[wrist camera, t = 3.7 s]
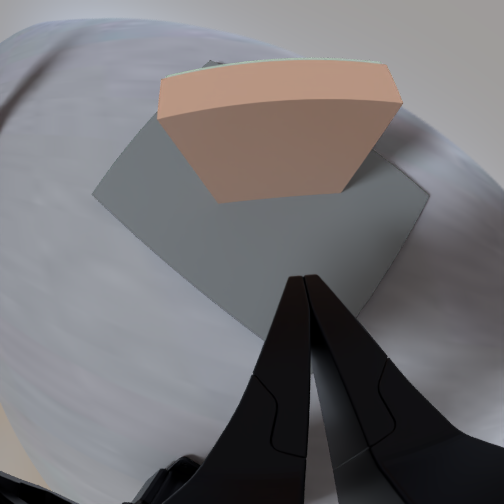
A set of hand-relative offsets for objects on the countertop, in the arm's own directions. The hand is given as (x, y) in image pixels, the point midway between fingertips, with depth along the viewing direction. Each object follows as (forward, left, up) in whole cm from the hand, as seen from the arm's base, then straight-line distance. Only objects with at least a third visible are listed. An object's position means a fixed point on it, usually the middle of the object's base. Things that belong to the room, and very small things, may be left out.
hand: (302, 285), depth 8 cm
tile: (+4, -4, -7) cm, 9 cm away
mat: (+5, -3, -8) cm, 10 cm away
